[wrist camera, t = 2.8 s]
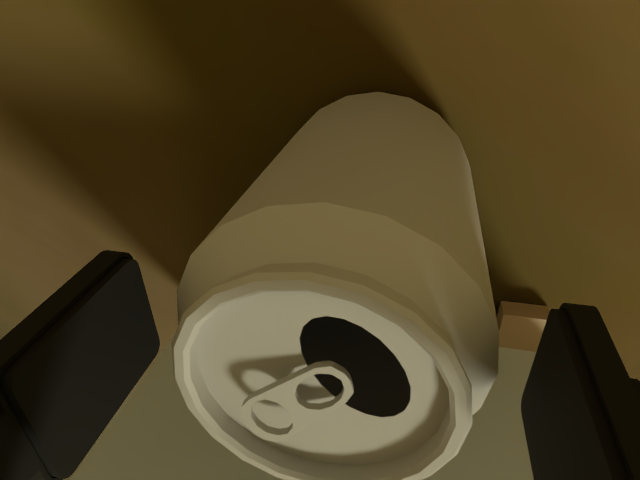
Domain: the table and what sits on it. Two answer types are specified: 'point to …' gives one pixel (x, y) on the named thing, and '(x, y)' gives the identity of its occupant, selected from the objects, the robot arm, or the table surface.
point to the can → (344, 302)
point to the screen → (239, 476)
